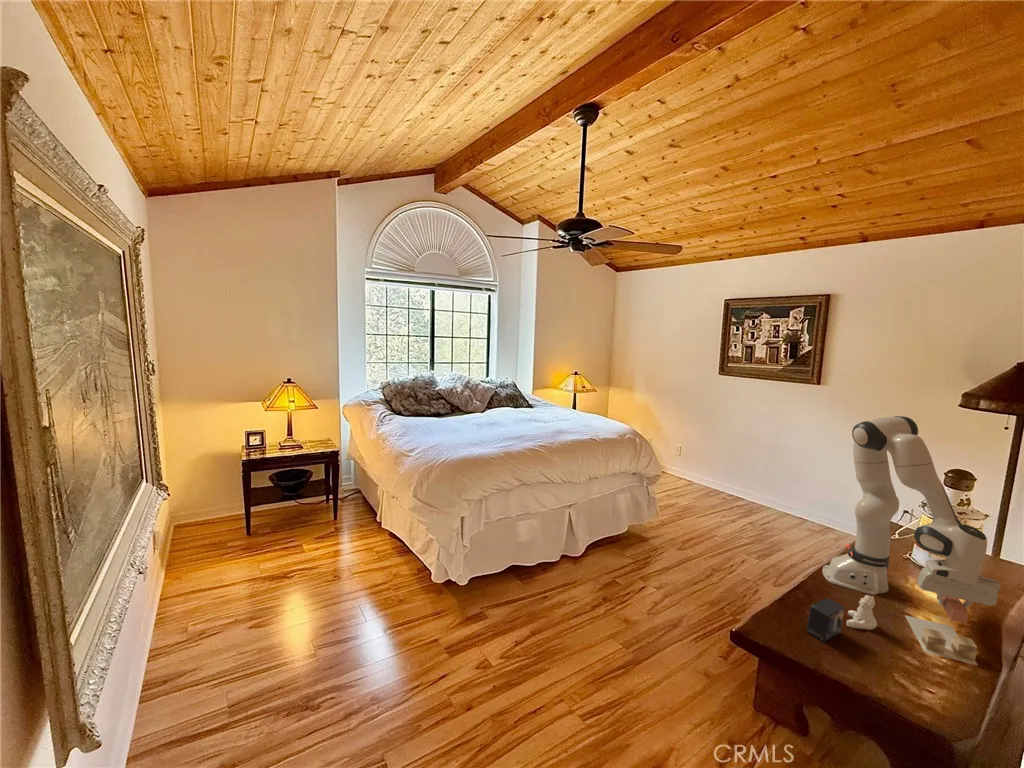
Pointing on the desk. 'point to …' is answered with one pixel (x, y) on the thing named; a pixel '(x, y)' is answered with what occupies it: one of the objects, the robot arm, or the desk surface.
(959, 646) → the pillar
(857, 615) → the seated beast figurine
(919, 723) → the desk surface
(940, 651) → the pillar
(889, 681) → the desk surface
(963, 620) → the lintel
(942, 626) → the blueprint mat
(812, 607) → the small box
